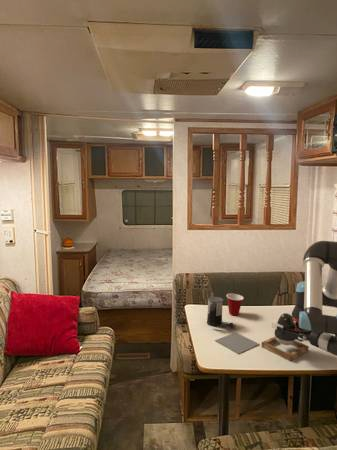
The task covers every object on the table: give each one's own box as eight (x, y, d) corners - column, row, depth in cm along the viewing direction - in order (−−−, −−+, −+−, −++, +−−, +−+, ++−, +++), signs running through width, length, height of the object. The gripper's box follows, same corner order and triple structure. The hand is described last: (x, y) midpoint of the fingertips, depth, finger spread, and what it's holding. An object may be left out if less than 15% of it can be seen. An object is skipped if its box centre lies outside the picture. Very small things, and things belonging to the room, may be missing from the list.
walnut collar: (280, 338, 169) (280, 333, 169) (308, 351, 156) (308, 346, 156) (261, 346, 160) (261, 342, 159) (289, 361, 147) (290, 356, 146)
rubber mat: (235, 332, 175) (235, 332, 174) (259, 344, 162) (259, 344, 162) (214, 340, 165) (214, 340, 165) (238, 354, 152) (238, 353, 152)
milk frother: (206, 319, 191) (206, 296, 190) (232, 320, 191) (233, 296, 189) (208, 330, 177) (208, 305, 176) (236, 331, 177) (237, 305, 175)
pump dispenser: (273, 345, 154) (275, 316, 152) (274, 336, 164) (276, 308, 162) (295, 349, 151) (297, 319, 149) (295, 339, 160) (297, 311, 158)
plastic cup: (243, 318, 194) (244, 299, 192) (225, 316, 196) (226, 298, 194) (242, 311, 204) (243, 293, 203) (225, 310, 206) (226, 292, 205)
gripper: (308, 355, 136) (264, 335, 154) (333, 341, 149) (290, 323, 167) (309, 339, 135) (265, 320, 153) (334, 325, 148) (290, 310, 166)
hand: (278, 322), depth 160 cm, fingers closed on pump dispenser, 9 cm apart
